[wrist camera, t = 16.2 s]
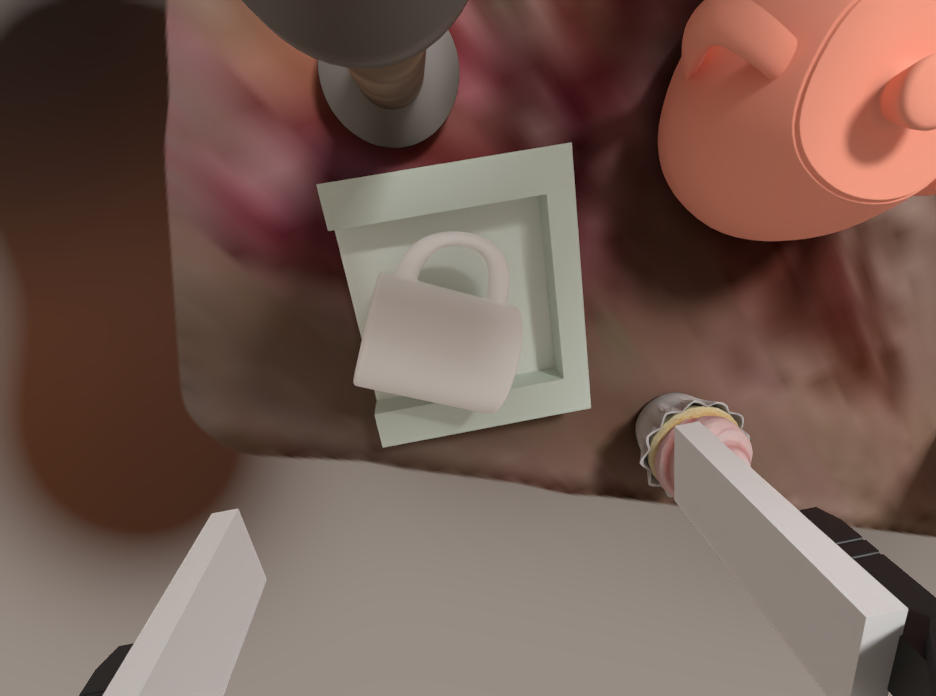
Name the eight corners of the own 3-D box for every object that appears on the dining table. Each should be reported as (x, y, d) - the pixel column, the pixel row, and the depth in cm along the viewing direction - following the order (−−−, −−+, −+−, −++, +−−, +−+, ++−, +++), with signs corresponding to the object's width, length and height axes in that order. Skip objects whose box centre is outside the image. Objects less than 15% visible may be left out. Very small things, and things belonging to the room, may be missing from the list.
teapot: (957, 73, 36) (1245, 19, 24) (834, 281, 41) (1019, 328, 28) (676, -82, 31) (853, -255, 19) (573, 177, 36) (658, 178, 23)
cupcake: (601, 454, 44) (650, 528, 35) (645, 364, 42) (711, 418, 32) (686, 476, 46) (755, 553, 37) (733, 392, 44) (820, 451, 34)
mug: (480, 392, 39) (498, 433, 32) (358, 365, 38) (347, 402, 30) (522, 248, 37) (553, 255, 29) (394, 211, 35) (392, 209, 27)
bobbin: (445, -13, 31) (514, -442, 9) (466, 137, 34) (555, 72, 13) (306, 7, 31) (47, -391, 9) (340, 157, 34) (210, 126, 12)
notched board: (557, 145, 35) (571, 142, 32) (578, 390, 42) (591, 408, 39) (325, 183, 34) (316, 184, 31) (385, 427, 41) (382, 447, 38)
